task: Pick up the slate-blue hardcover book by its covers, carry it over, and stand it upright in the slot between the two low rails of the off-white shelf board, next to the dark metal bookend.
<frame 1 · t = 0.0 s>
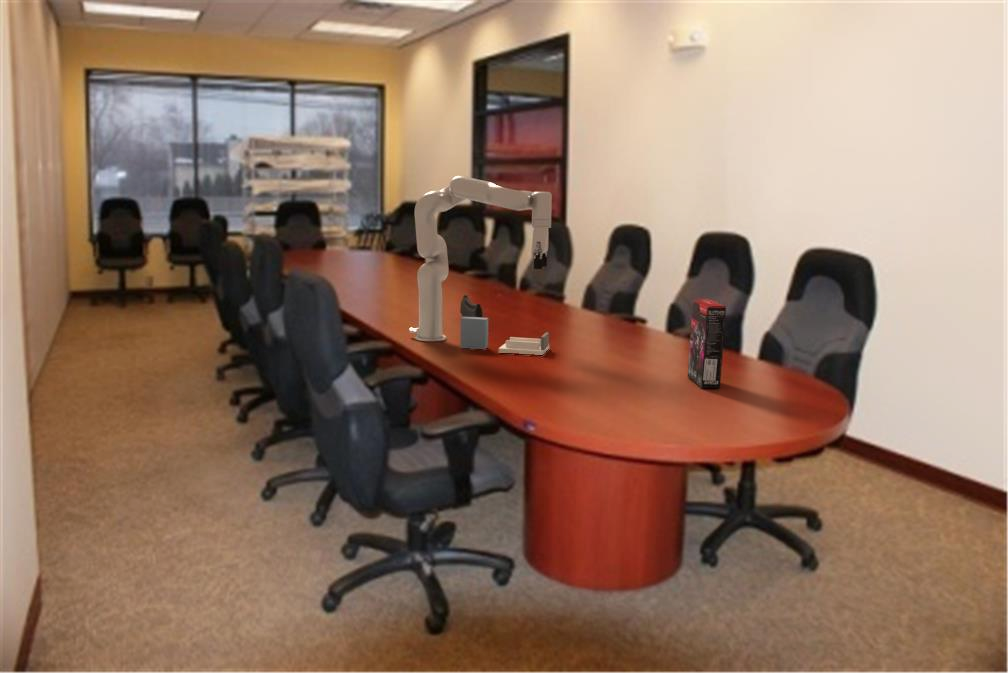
hand: (540, 267, 349), 31 cm above the table, tool pointing down, fingers open, 9 cm apart
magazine: (471, 323, 407), on the table
graphics card box: (703, 384, 295), on the table
shelf: (524, 351, 343), on the table
book: (474, 348, 347), on the table
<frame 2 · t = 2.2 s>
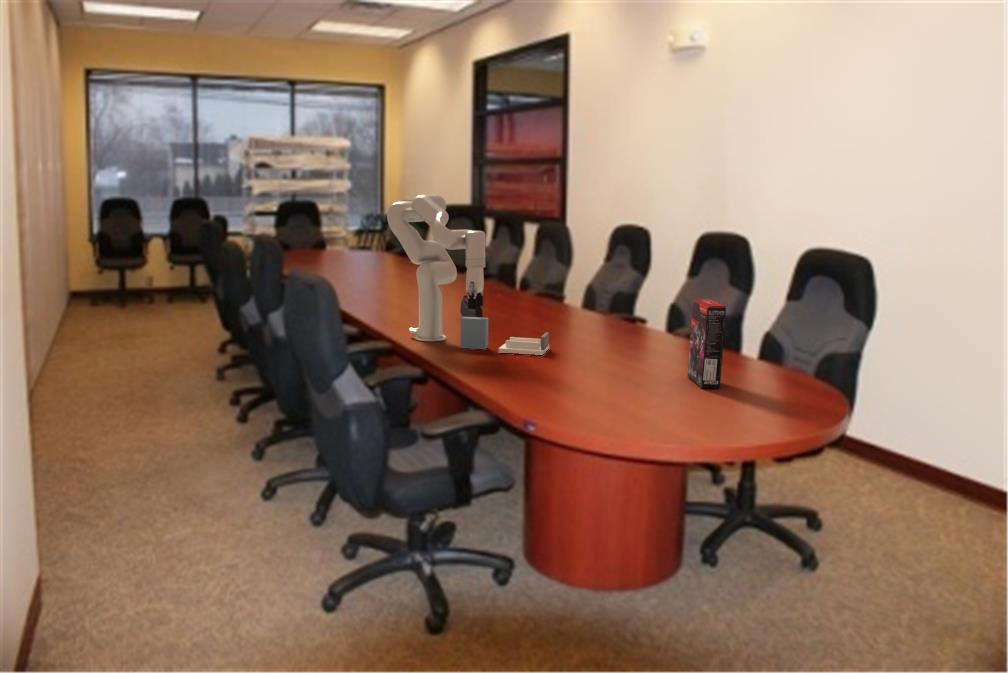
hand: (475, 307, 344), 16 cm above the table, tool pointing down, fingers open, 9 cm apart
nothing on the table moved.
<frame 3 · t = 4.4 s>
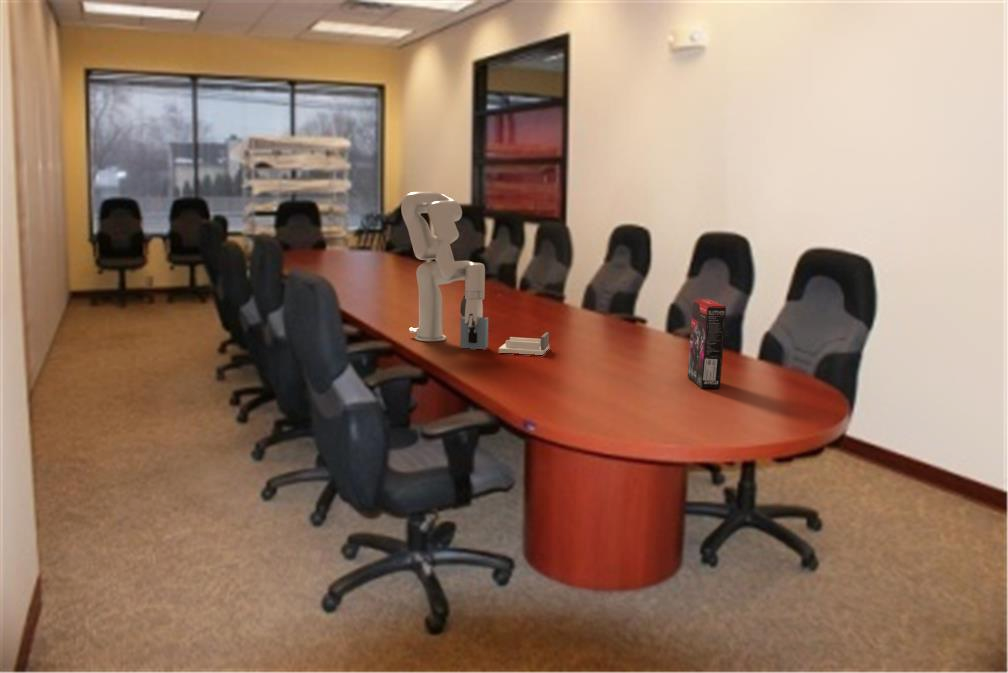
hand: (474, 341, 347), 3 cm above the table, tool pointing down, fingers closed on book, 4 cm apart
book: (474, 348, 347), on the table, touching gripper
everything else where it was.
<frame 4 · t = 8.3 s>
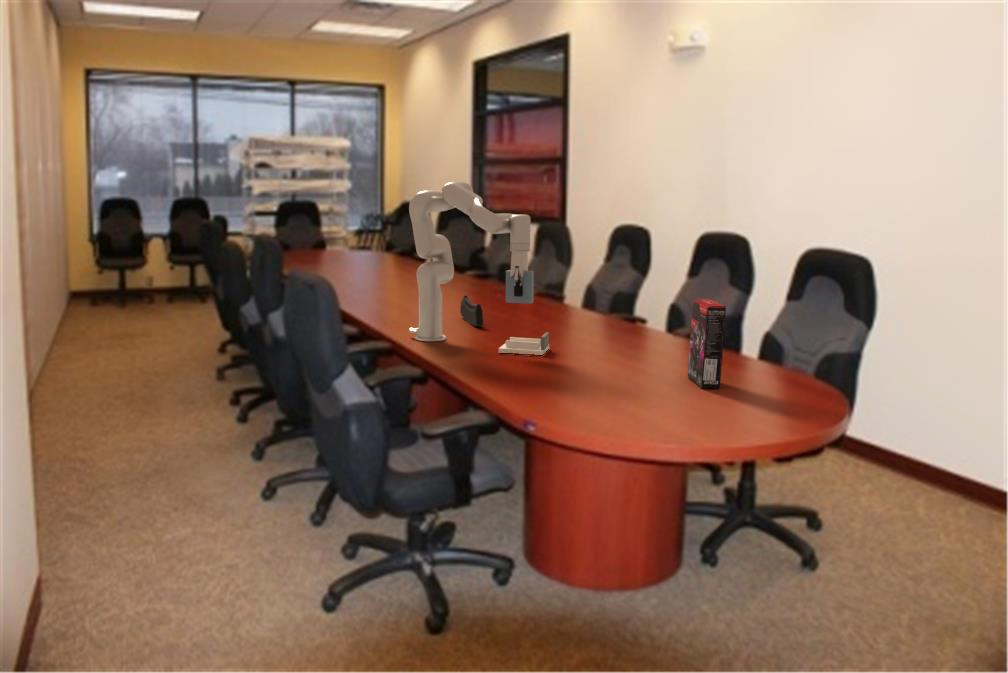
hand: (519, 295, 339), 22 cm above the table, tool pointing down, fingers closed on book, 4 cm apart
book: (519, 302, 340), point 19 cm above the table, touching gripper
everything else where it was.
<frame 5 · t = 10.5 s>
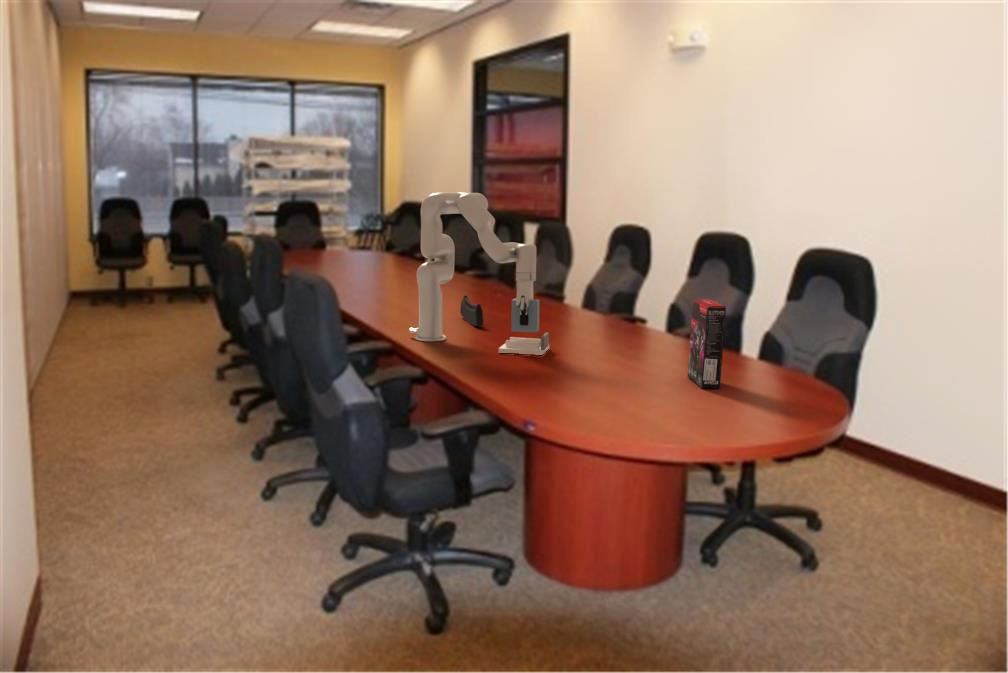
hand: (525, 323, 341), 11 cm above the table, tool pointing down, fingers closed on book, 4 cm apart
book: (525, 330, 341), point 8 cm above the table, touching gripper
everything else where it was.
when the fingers open (6 cm above the table, at t = 12.3 s): book stays where it is, resting on shelf.
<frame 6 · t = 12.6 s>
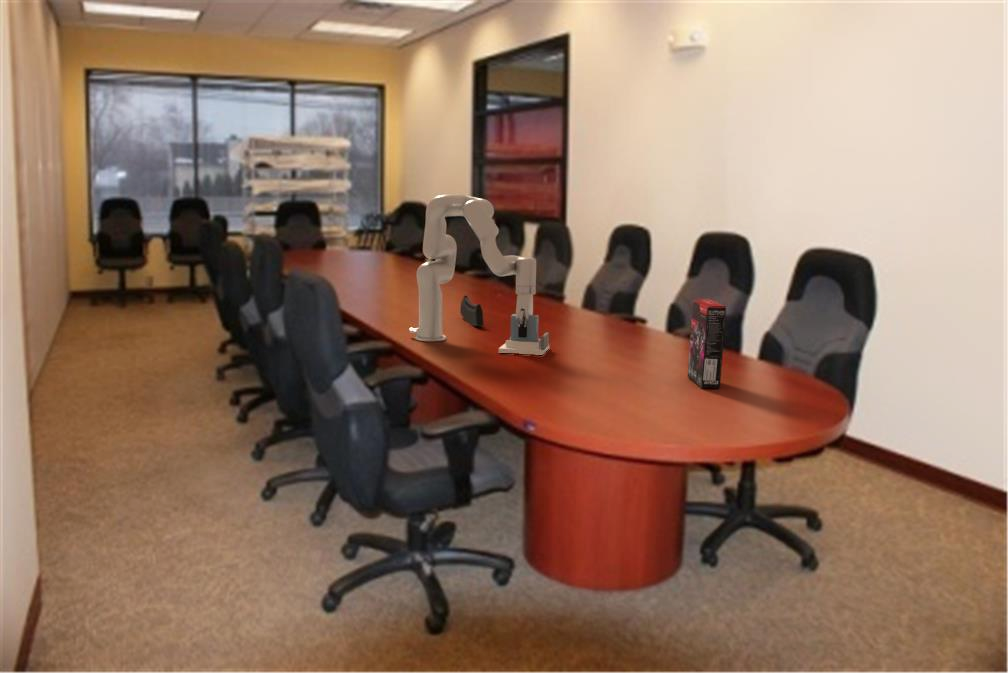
hand: (524, 335, 342), 6 cm above the table, tool pointing down, fingers open, 7 cm apart
book: (524, 346, 343), point 2 cm above the table, touching shelf
everything else where it was.
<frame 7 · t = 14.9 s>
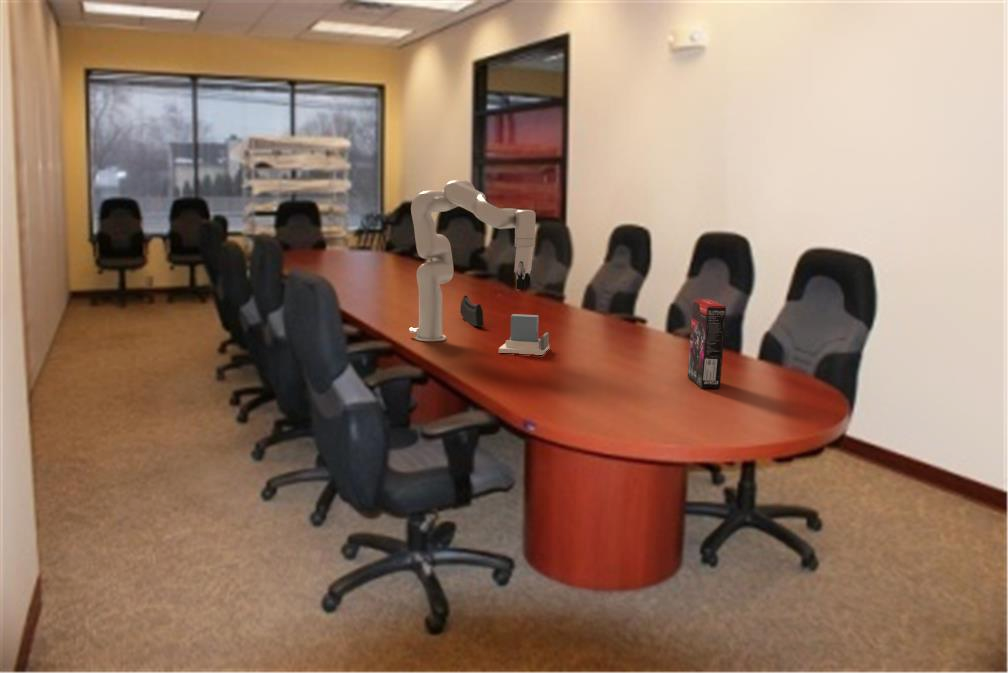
hand: (523, 287, 340), 25 cm above the table, tool pointing down, fingers open, 9 cm apart
nothing on the table moved.
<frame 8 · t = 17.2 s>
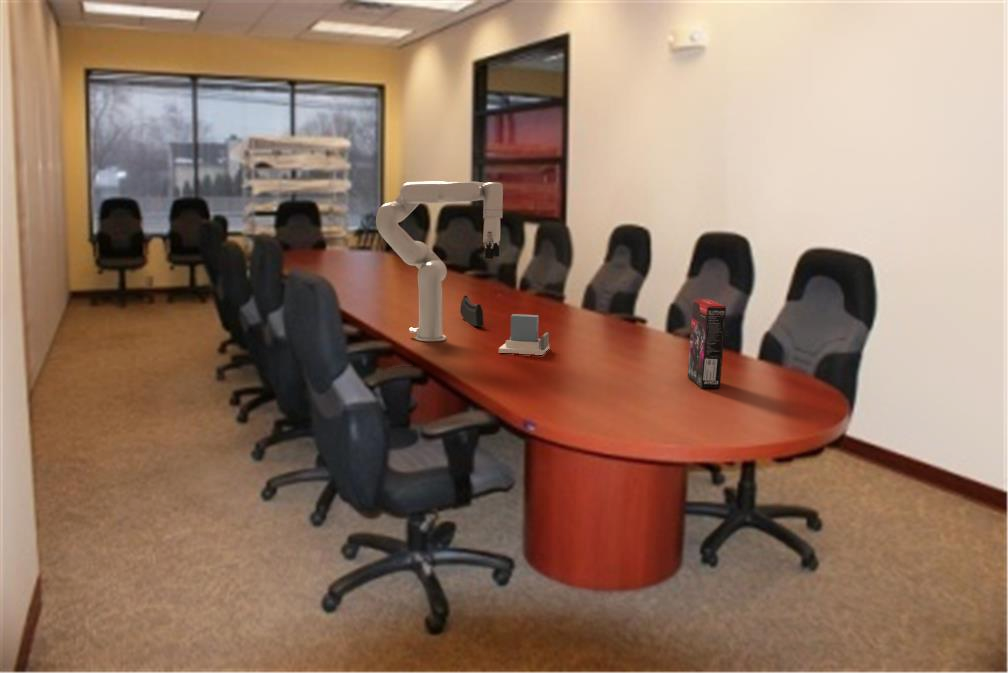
hand: (492, 257, 355), 34 cm above the table, tool pointing down, fingers open, 9 cm apart
nothing on the table moved.
at the end: book 0.1 cm off-centre on the shelf, point 2.0 cm above the shelf's base; book tilted 0°; book touching shelf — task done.
